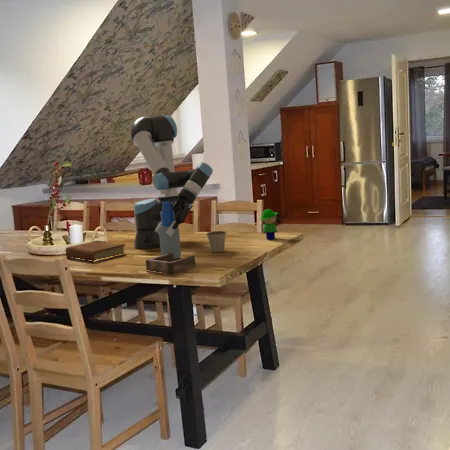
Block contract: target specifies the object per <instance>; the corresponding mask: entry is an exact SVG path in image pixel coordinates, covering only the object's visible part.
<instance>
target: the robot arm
mask: <svg viewBox="0 0 450 450" xmlns="http://www.w3.org/2000/svg"><path fill="white" fill-rule="evenodd" d="M177 136H178V127H177V123H176V121H175V119H174V118H173V117H172V116H170V115H155V116H142V117H138V118H137V119H136V120H134V122H133V124H132V126H131V127H130V138H131V141H132V143H133V145H134V146H135V147H137V148H138V149H139V151H140V153H141V154H142V157H143V159H144V160H145V162H146V163H147V165H148V167H149V169H150V171H151V172H152V174H153V177H152V184H153V187H154V189H156V190H157V191H160V192H159V193H160V194H159V195H158V196H157V199H158V200H157V199H156V198H149V199H148V198H147V199H143V200H140V201H138V202H137V201H136V203H135V204H134V207H133V210H134V211H133V214H134V219H135V229H136V232H135V233H136V234H135V238H134V242H133V245H134V246H133V247H134V248H135V249H139V248H140V250H141V249H155V248H158V247H160V238H159V225H162V223H161V212H162V208H163V207H162V206H163V204H162V202H166V201H170V202H171V207H172V211H174V217H175V219H174V220H175V221H173V223H172V224H171V226H170V227H169V229H168V230H167V232H166V233H167V234H168V235H169V236H170V237H171V236H172V234H173V233H174V231H175V230H176V228H177V227H178V226H179V225H181V224H184V223H185V221H186V219H187V218H188V215H189V214H190V211H191V210H192V208H193V207H194V205H193V204H194V202H195V200H196V199H197V197H198V196H199V194H200V192H202V190H203V188H204V187H205V185H206V183H207V182H208V180H210V178H211V175H212V174H213V172H214V171H213V170H214V169H213V168H212V167H211V166H210V165H209V164H208V163H206V162H199V163H198V164H197V165H196V167H195V168H193V169H188V170H180V171H175V164H174V155H173V147H172V145H173V144H174V143H175V139H176V137H177ZM177 188H179V189H180V188H182V189H181V190H180V191H179V192H178V189H177Z"/></svg>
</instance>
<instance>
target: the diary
mask: <svg viewBox="0 0 450 450" xmlns="http://www.w3.org/2000/svg"><path fill="white" fill-rule="evenodd" d="M125 246H126V244H125V243H121V242H112V241H104V240H103V241H102V240H94V241H93V240H92V241H90V242H89V241H88V242H85V243H80V244H76V245H72V246H67V247H66V248H65V249H64V251H65V257H66V256H67V257H73V258H80V259H85V260H92V261H94V260H96V259H101V258H106V257H110V256H115V255H119V254H123V253H125V250H124V248H125ZM67 257H66V258H67Z"/></svg>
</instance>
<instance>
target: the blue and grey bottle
mask: <svg viewBox="0 0 450 450" xmlns="http://www.w3.org/2000/svg"><path fill="white" fill-rule="evenodd" d="M162 204H163V206H162V207H163V208H162V212H161V223H162V225H159V238H160V246H159V247H160V249H159V250H160V256H162V255H165V254H169V253H173V258H174V260H177V259H181V257H182V251H181V249H182V248H181V239H180V236H181V235H180V227H179V225H178V227H177V228H176V230H175V231H174V233H173V234H172V236H171V237H170V236H169V235H168V234H167V233H166V232H167V230H168V229H169V227H170V226H171V224H172V223H173V221H175V220H174V219H175V217H174V211H172V207H171V202H170V201H166V202H162ZM175 222H176V221H175Z"/></svg>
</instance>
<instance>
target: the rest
mask: <svg viewBox="0 0 450 450" xmlns="http://www.w3.org/2000/svg"><path fill="white" fill-rule="evenodd" d="M196 264H197V263H196V256H195V255H189V256H186V257H183V258H178V259H174V258H173V253H169V254H165V255H162V256H161V255H159V256H155V257H152V258H148V259H145V267H146V271H147V270H150V271H156V272H162V273H166V274H165V275H168V274H170V275H169V276H172V274H173V275H175V273H176V274H178V273H182V272H185V271H189V270H191V269H194V268H196V267H197V265H196ZM156 272H155V273H156ZM162 273H161V274H162Z"/></svg>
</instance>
